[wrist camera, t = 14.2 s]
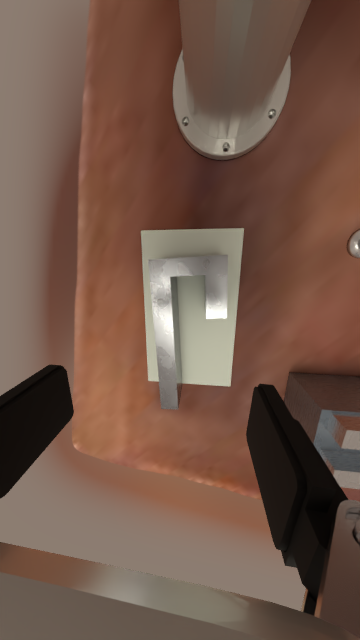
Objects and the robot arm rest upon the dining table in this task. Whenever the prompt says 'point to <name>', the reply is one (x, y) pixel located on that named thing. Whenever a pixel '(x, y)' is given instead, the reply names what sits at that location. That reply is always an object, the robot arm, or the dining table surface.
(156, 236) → the mat
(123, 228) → the dining table surface
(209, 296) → the crook
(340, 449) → the grey metal pieces
